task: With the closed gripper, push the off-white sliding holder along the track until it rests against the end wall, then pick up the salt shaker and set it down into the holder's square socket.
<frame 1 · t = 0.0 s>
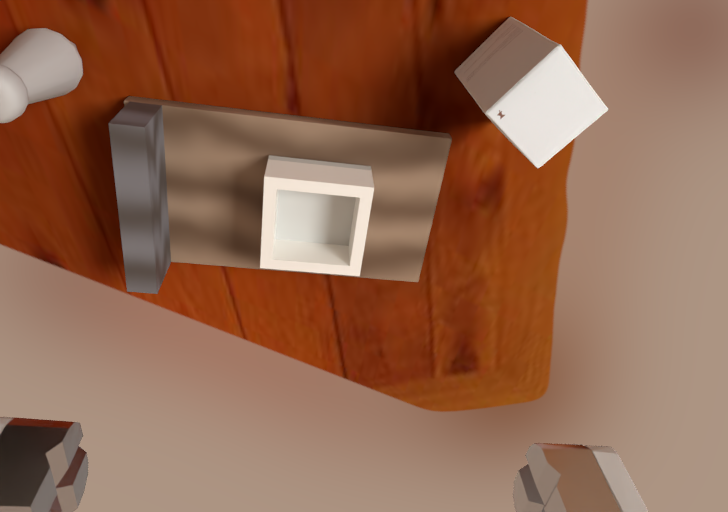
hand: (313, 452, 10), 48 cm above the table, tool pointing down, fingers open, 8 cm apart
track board: (288, 195, 60), on the table
sliding holder: (315, 217, 57), point 4 cm above the table, slide at 10.0 cm
salt shaker: (59, 55, 51), on the table
supplement box: (503, 69, 54), on the table
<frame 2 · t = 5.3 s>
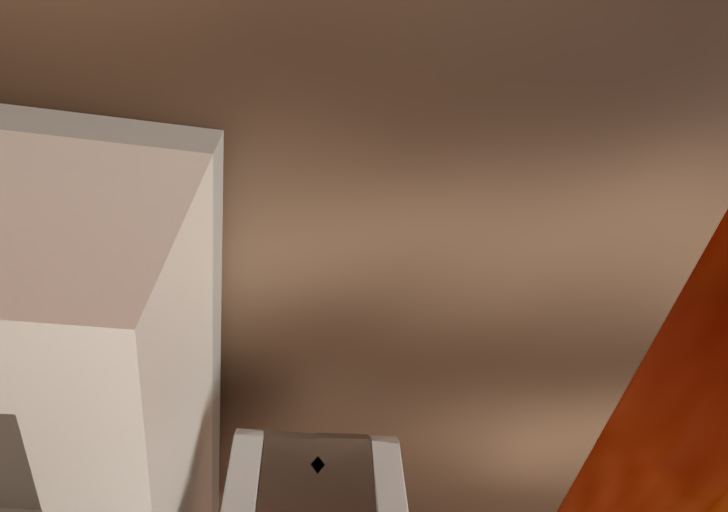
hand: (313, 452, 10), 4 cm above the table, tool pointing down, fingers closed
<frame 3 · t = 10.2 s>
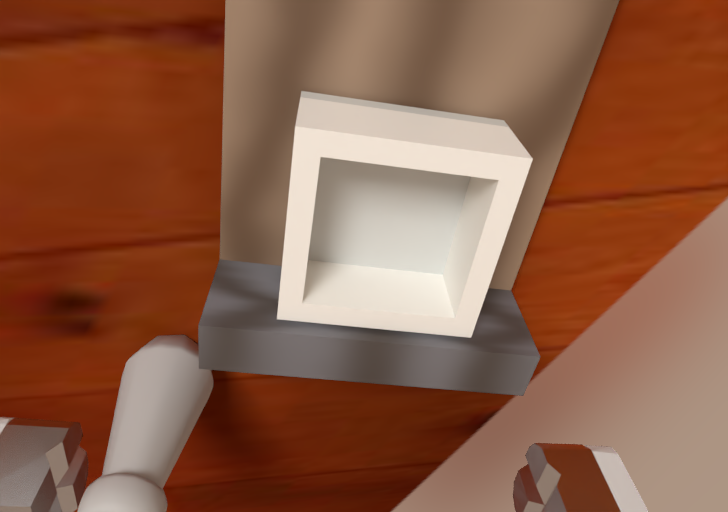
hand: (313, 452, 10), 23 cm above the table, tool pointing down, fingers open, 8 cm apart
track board: (408, 60, 28), on the table
sliding holder: (390, 219, 28), point 4 cm above the table, slide at 0.0 cm
salt shaker: (177, 353, 39), on the table
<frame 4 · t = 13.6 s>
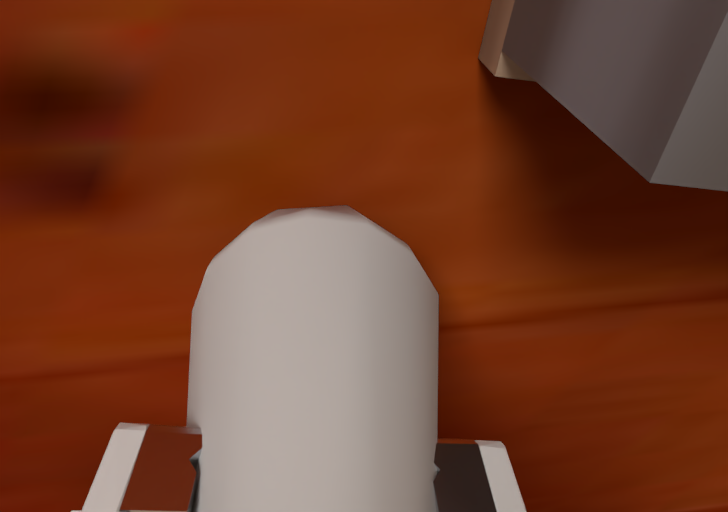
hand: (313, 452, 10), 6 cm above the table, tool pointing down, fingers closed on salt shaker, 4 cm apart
salt shaker: (319, 263, 15), on the table, touching gripper
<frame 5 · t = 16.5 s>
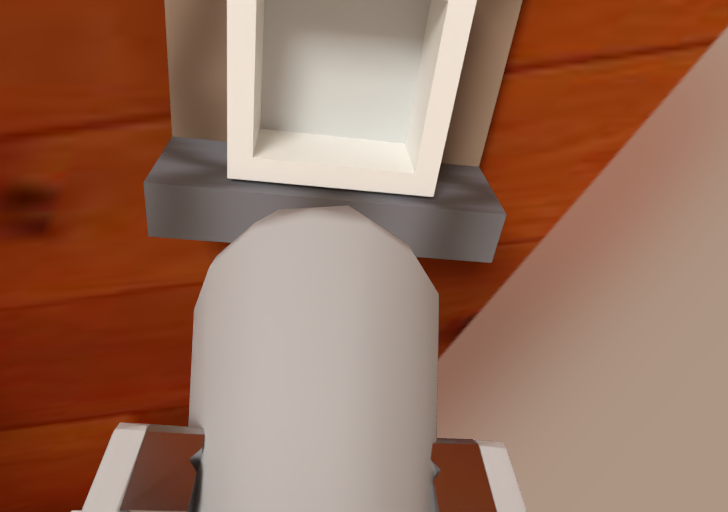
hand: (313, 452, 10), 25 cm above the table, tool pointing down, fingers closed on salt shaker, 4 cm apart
sliding holder: (342, 69, 27), point 4 cm above the table, slide at 0.0 cm
salt shaker: (320, 262, 16), point 19 cm above the table, touching gripper
when the fingers open (10 cm above the table, at t = 19.9 s): salt shaker drops 1 cm, resting on sliding holder.
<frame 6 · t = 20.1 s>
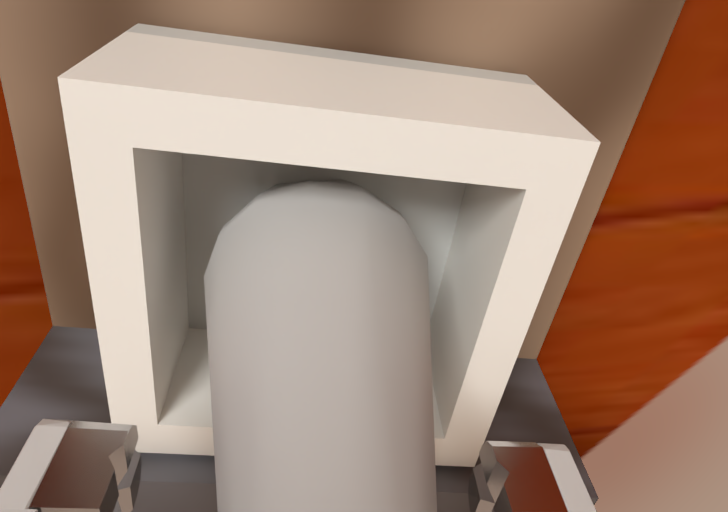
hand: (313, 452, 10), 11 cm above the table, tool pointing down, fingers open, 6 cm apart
sliding holder: (320, 263, 15), point 4 cm above the table, slide at 0.0 cm, touching salt shaker
salt shaker: (315, 234, 17), point 3 cm above the table, touching sliding holder
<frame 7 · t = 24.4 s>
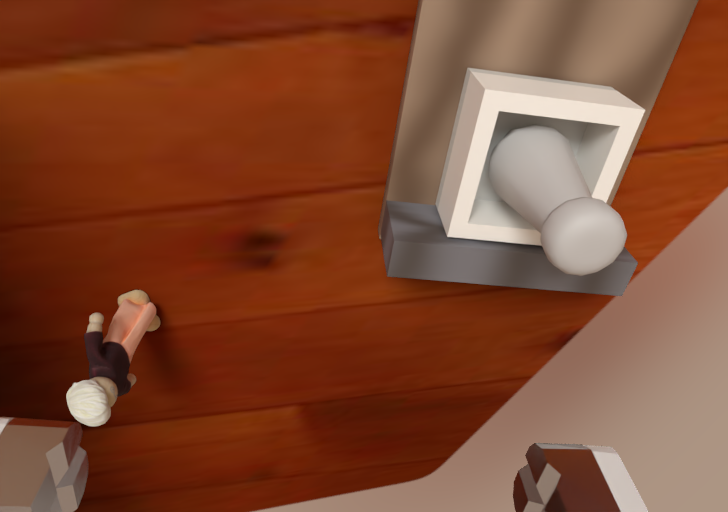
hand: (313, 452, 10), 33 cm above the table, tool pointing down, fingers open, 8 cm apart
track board: (540, 44, 39), on the table
sliding holder: (529, 161, 39), point 4 cm above the table, slide at 0.0 cm, touching salt shaker
salt shaker: (519, 152, 40), point 3 cm above the table, touching sliding holder
grandmother figurine: (138, 304, 49), on the table
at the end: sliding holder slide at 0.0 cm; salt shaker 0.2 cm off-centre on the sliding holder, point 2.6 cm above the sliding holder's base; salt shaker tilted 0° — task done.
